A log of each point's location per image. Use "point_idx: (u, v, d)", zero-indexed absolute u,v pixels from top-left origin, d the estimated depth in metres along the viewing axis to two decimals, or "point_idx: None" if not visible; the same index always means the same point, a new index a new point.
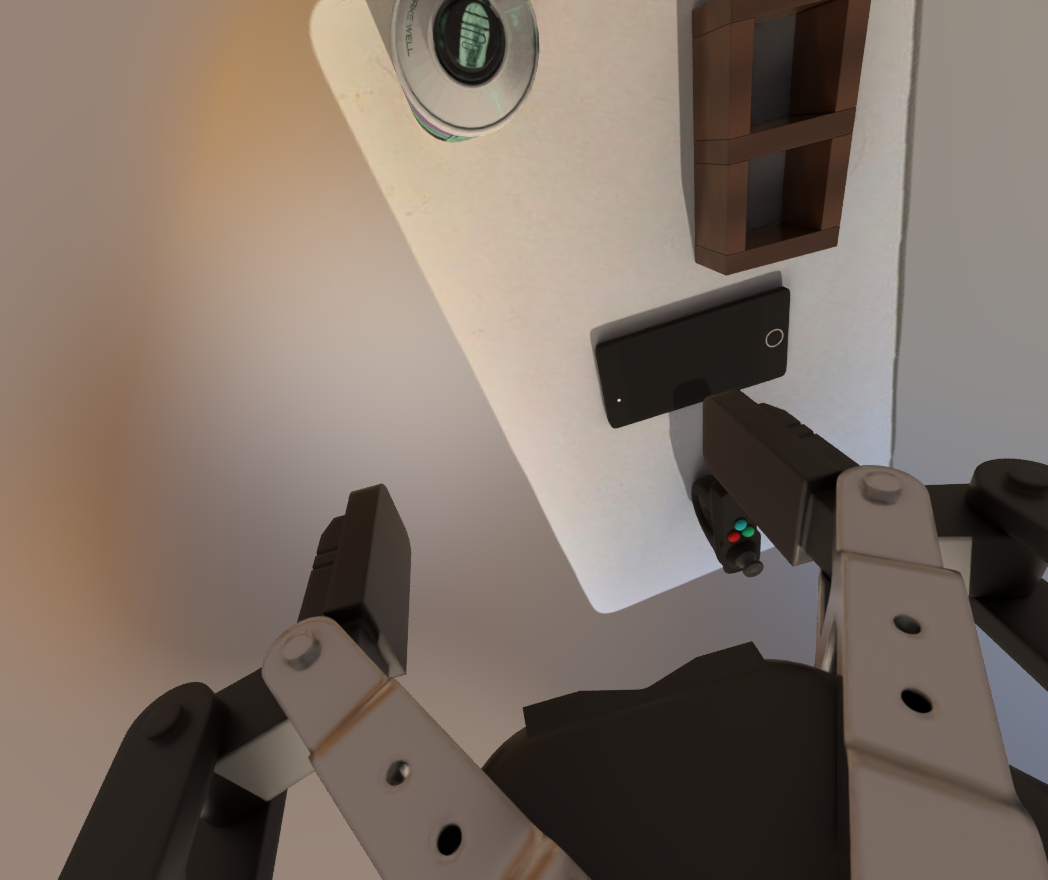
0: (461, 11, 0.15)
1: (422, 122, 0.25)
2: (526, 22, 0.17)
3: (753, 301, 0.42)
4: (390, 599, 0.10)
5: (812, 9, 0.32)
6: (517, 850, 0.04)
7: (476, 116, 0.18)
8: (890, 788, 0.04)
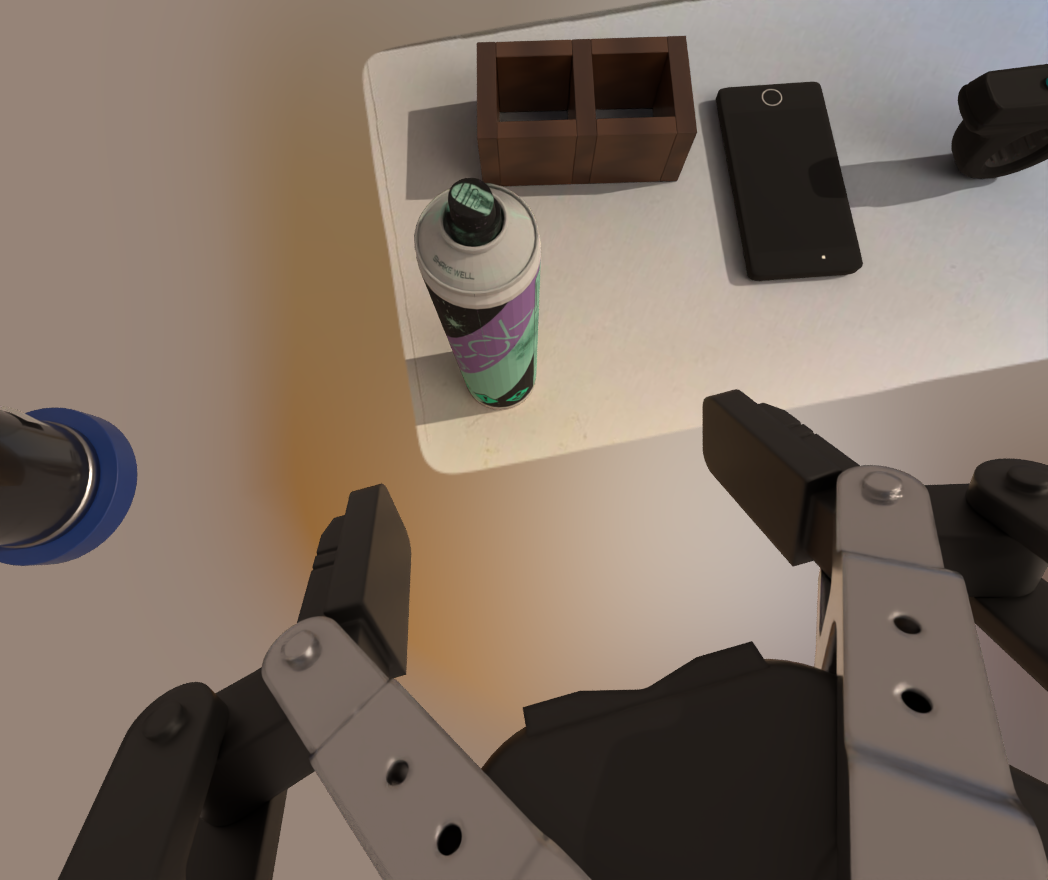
0: (455, 201, 0.18)
1: (518, 356, 0.28)
2: None
3: (726, 121, 0.41)
4: (390, 598, 0.10)
5: (499, 95, 0.41)
6: (518, 849, 0.04)
7: (526, 236, 0.20)
8: (890, 788, 0.04)
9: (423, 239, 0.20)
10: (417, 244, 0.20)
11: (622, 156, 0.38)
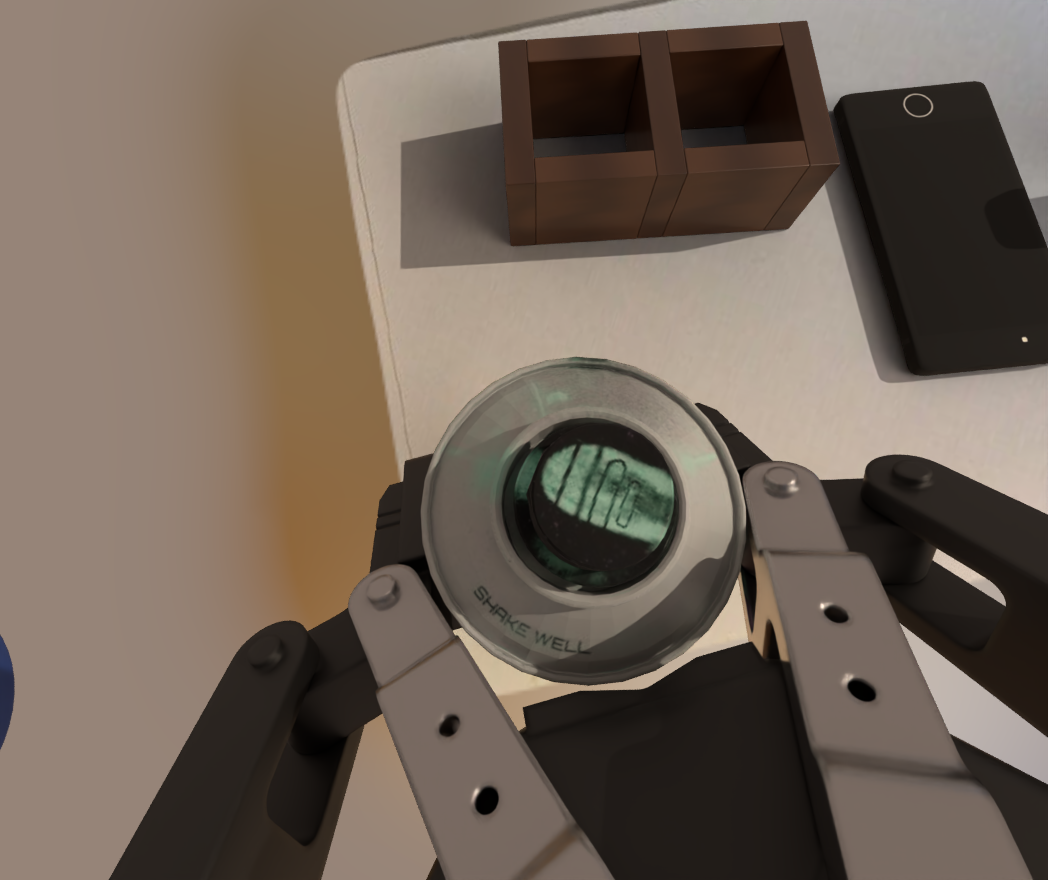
0: (556, 512, 0.05)
1: None
2: (559, 376, 0.08)
3: (857, 141, 0.28)
4: None
5: None
6: (549, 829, 0.04)
7: (720, 516, 0.07)
8: (890, 787, 0.04)
9: (445, 528, 0.08)
10: (428, 532, 0.08)
11: (718, 200, 0.26)
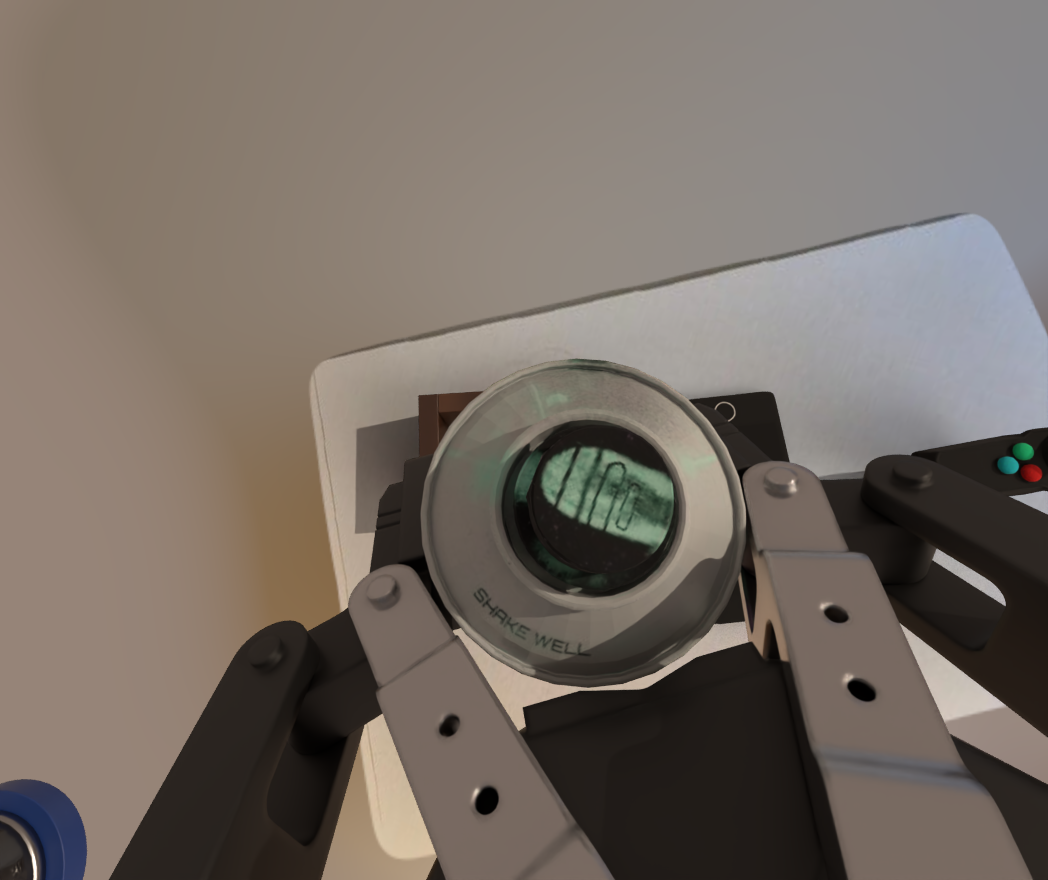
0: (556, 515, 0.05)
1: None
2: (559, 378, 0.08)
3: None
4: None
5: (447, 423, 0.40)
6: (549, 829, 0.04)
7: (720, 518, 0.07)
8: (890, 787, 0.04)
9: (445, 530, 0.08)
10: (428, 534, 0.08)
11: None
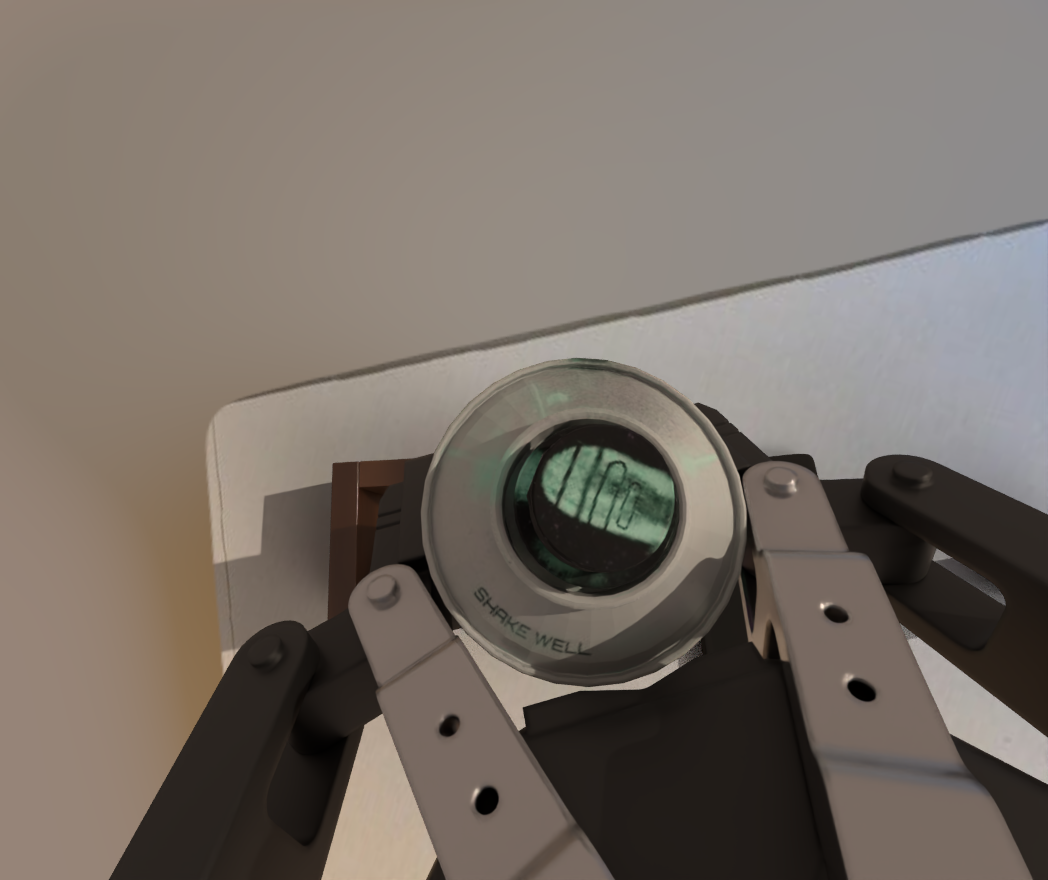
0: (556, 513, 0.05)
1: None
2: (560, 377, 0.08)
3: None
4: None
5: (378, 493, 0.30)
6: (549, 828, 0.04)
7: (720, 517, 0.07)
8: (890, 788, 0.04)
9: (445, 529, 0.08)
10: (429, 533, 0.08)
11: None
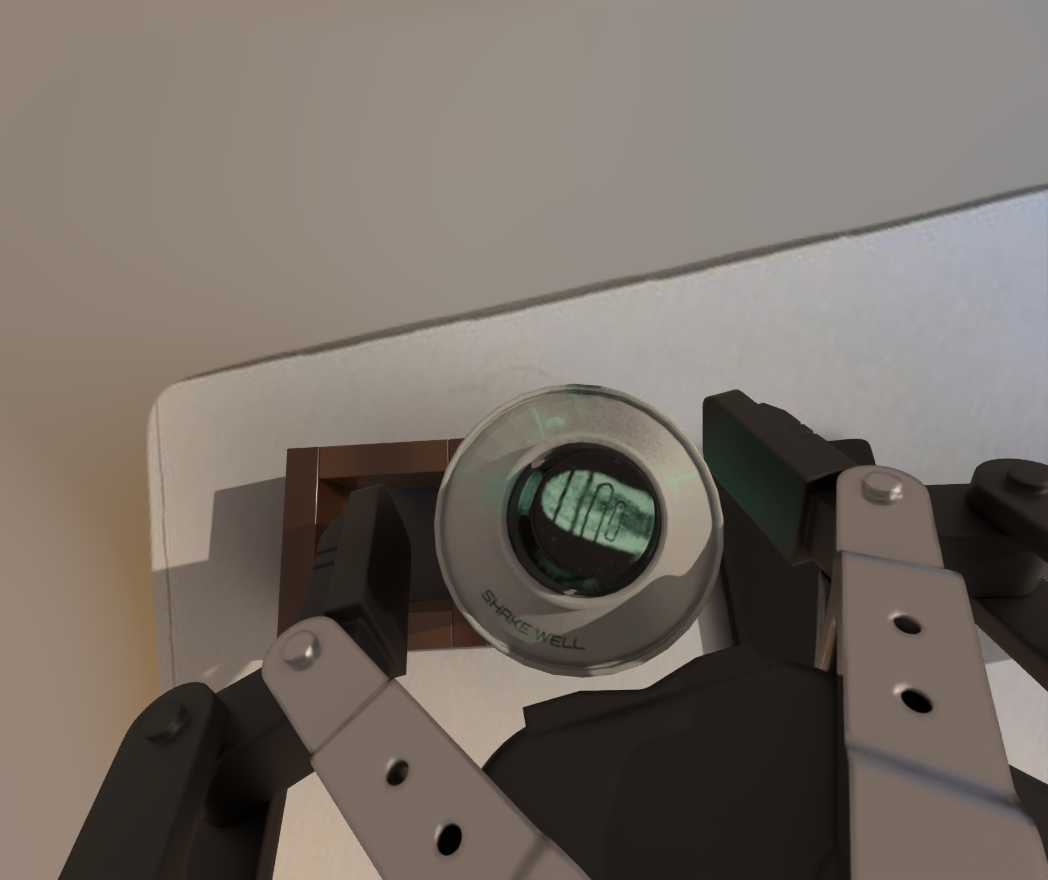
0: (554, 528, 0.06)
1: None
2: (557, 402, 0.09)
3: None
4: (390, 599, 0.10)
5: (347, 487, 0.25)
6: (518, 849, 0.04)
7: (700, 527, 0.08)
8: (890, 788, 0.04)
9: (456, 538, 0.09)
10: (441, 542, 0.09)
11: None
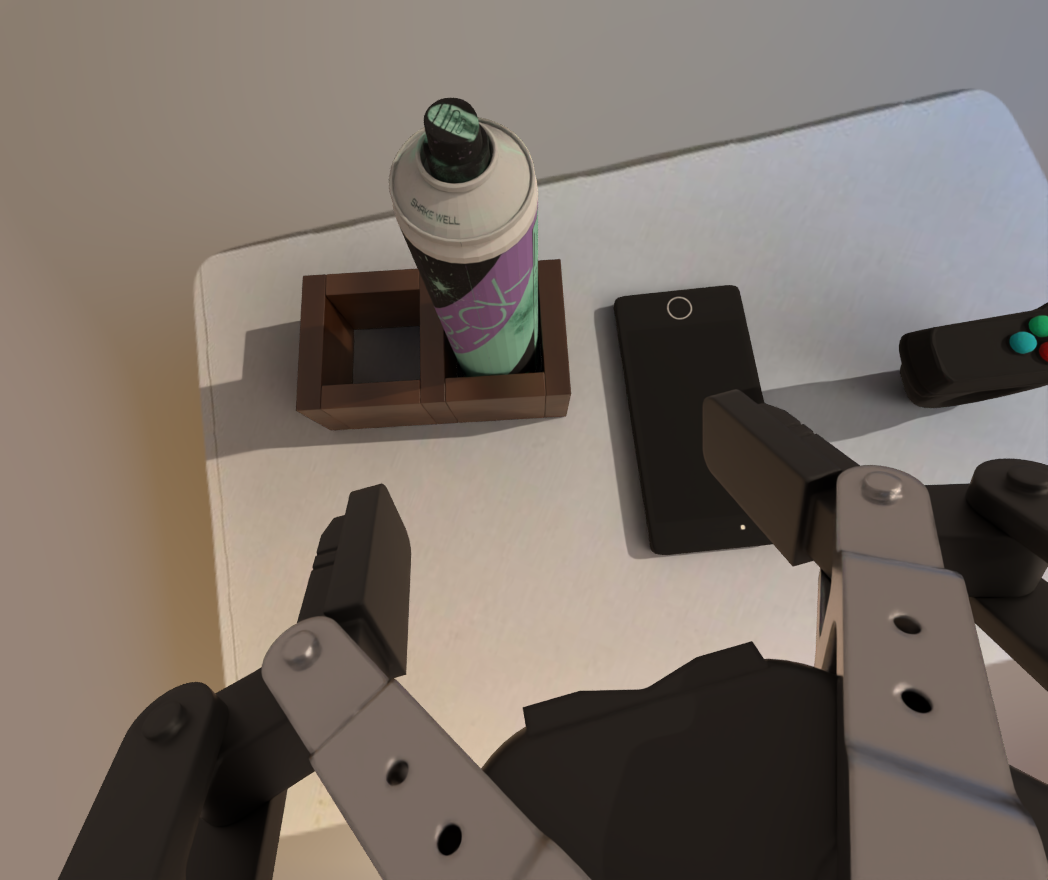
0: (432, 125, 0.15)
1: (516, 330, 0.24)
2: None
3: (624, 341, 0.33)
4: (390, 599, 0.10)
5: (346, 319, 0.34)
6: (518, 850, 0.04)
7: (520, 173, 0.17)
8: (890, 788, 0.04)
9: (399, 182, 0.17)
10: (392, 188, 0.17)
11: (487, 409, 0.31)
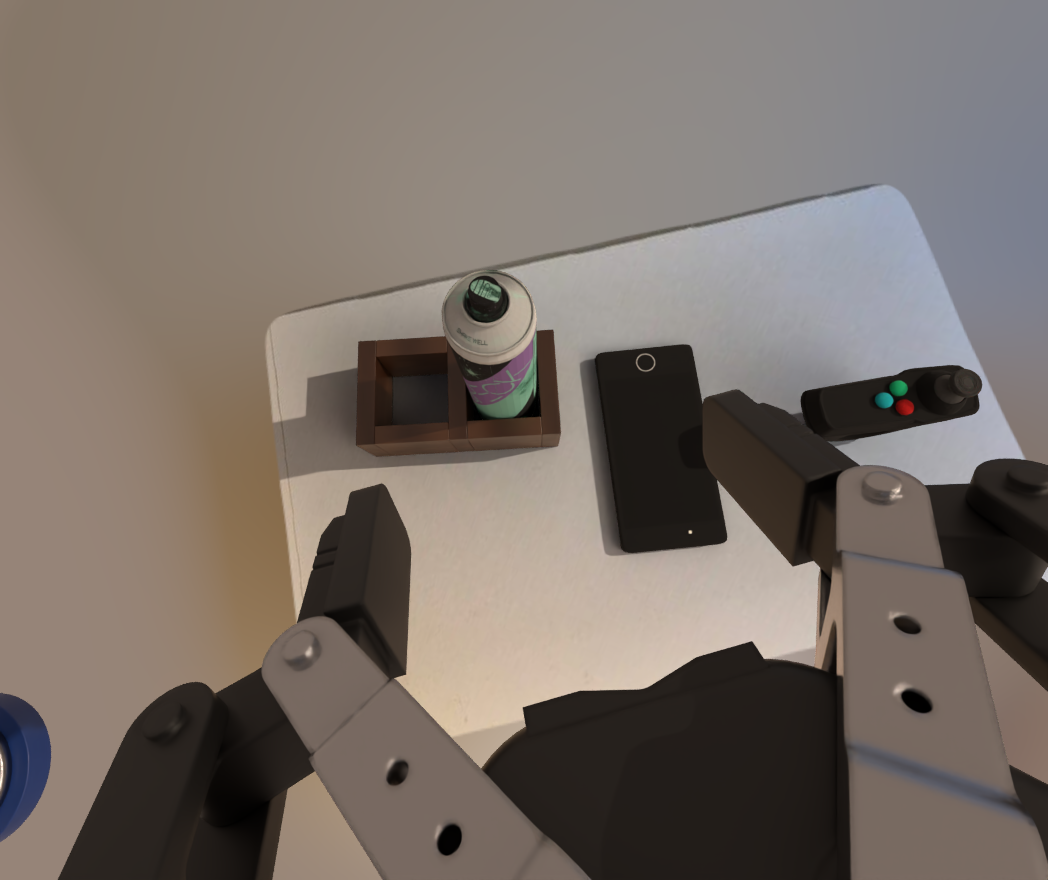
0: (473, 293, 0.25)
1: (521, 392, 0.34)
2: (482, 275, 0.27)
3: (602, 388, 0.43)
4: (390, 599, 0.10)
5: (388, 370, 0.43)
6: (518, 848, 0.04)
7: (525, 311, 0.27)
8: (890, 788, 0.04)
9: (448, 315, 0.27)
10: (444, 318, 0.27)
11: (498, 442, 0.41)
